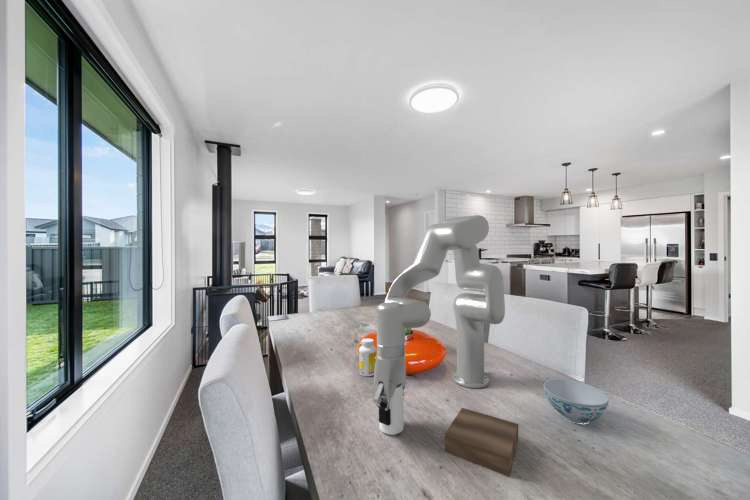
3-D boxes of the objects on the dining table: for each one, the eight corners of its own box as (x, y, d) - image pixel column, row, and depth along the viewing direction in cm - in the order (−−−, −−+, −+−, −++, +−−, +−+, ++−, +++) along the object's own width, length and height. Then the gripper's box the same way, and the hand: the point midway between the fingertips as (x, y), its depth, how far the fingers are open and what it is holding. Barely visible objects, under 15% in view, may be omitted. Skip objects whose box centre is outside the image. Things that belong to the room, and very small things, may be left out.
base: (462, 422, 79) (462, 407, 79) (518, 440, 72) (518, 424, 72) (444, 451, 68) (444, 434, 68) (509, 477, 60) (509, 457, 60)
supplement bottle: (378, 370, 114) (377, 338, 114) (374, 377, 108) (374, 343, 108) (361, 369, 115) (361, 337, 115) (357, 376, 109) (357, 342, 109)
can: (402, 437, 73) (401, 390, 73) (377, 434, 74) (376, 387, 74) (404, 422, 79) (404, 378, 79) (381, 419, 81) (381, 377, 81)
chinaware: (596, 408, 86) (595, 382, 86) (620, 440, 71) (619, 409, 72) (539, 400, 91) (538, 376, 91) (550, 428, 76) (550, 399, 76)
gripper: (394, 338, 86) (395, 399, 86) (360, 356, 72) (361, 429, 72) (417, 343, 82) (418, 406, 82) (386, 363, 68) (386, 439, 68)
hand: (391, 416), depth 77 cm, fingers closed on can, 6 cm apart
